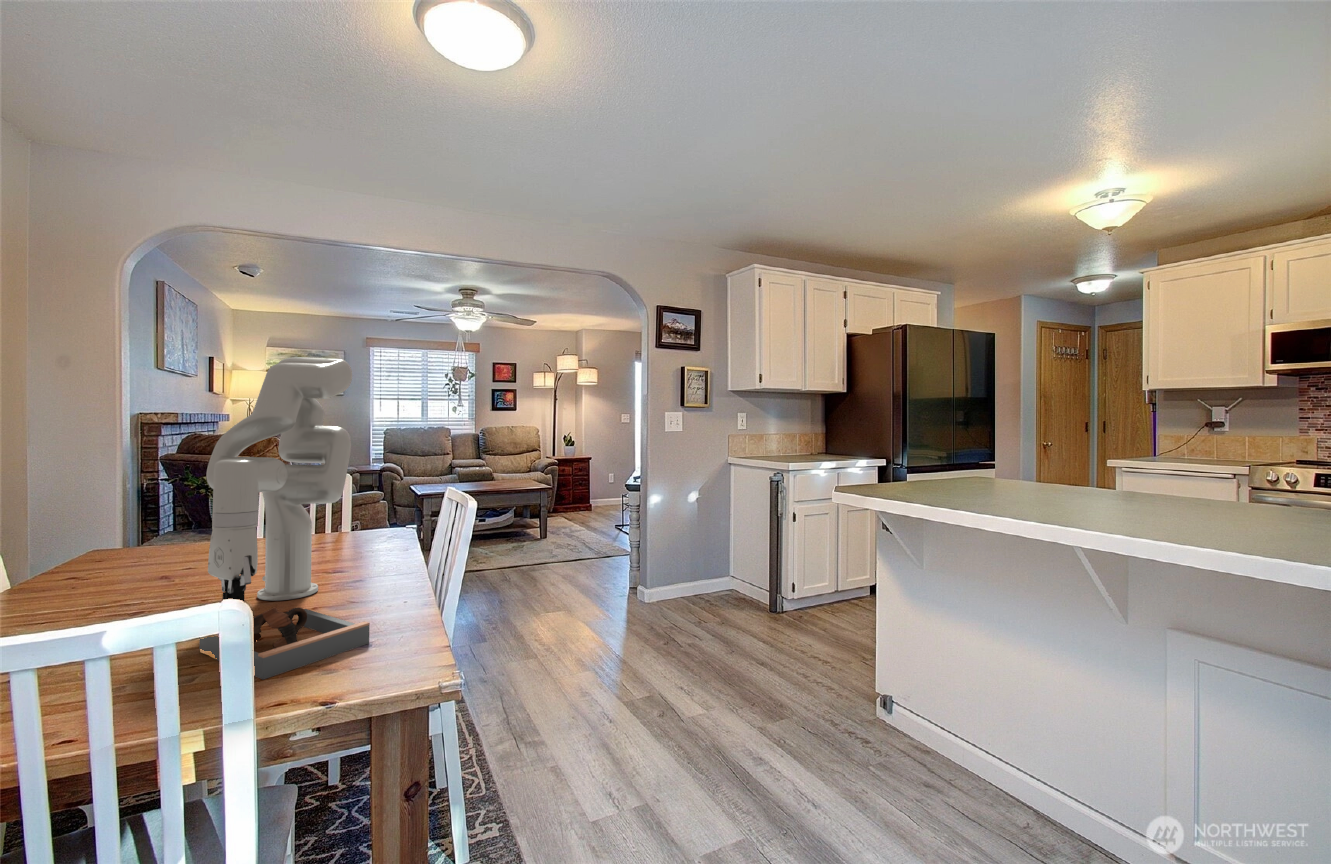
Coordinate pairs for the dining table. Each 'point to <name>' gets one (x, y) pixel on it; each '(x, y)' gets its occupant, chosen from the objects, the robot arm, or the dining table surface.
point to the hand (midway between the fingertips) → (233, 611)
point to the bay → (304, 645)
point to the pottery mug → (281, 624)
